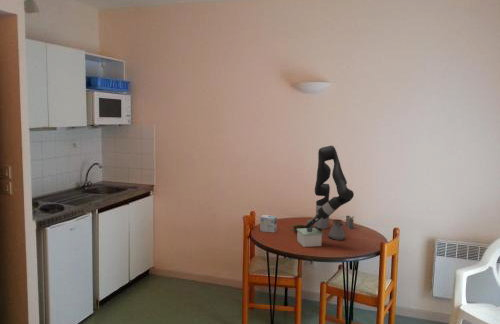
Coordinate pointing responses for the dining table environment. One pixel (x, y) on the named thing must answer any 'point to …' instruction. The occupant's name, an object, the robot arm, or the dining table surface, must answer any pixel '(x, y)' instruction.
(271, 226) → the light bulb box
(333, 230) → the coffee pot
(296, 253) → the dining table surface
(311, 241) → the tub
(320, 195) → the robot arm
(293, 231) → the dining table surface
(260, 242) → the dining table surface
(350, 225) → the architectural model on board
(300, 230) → the lid
